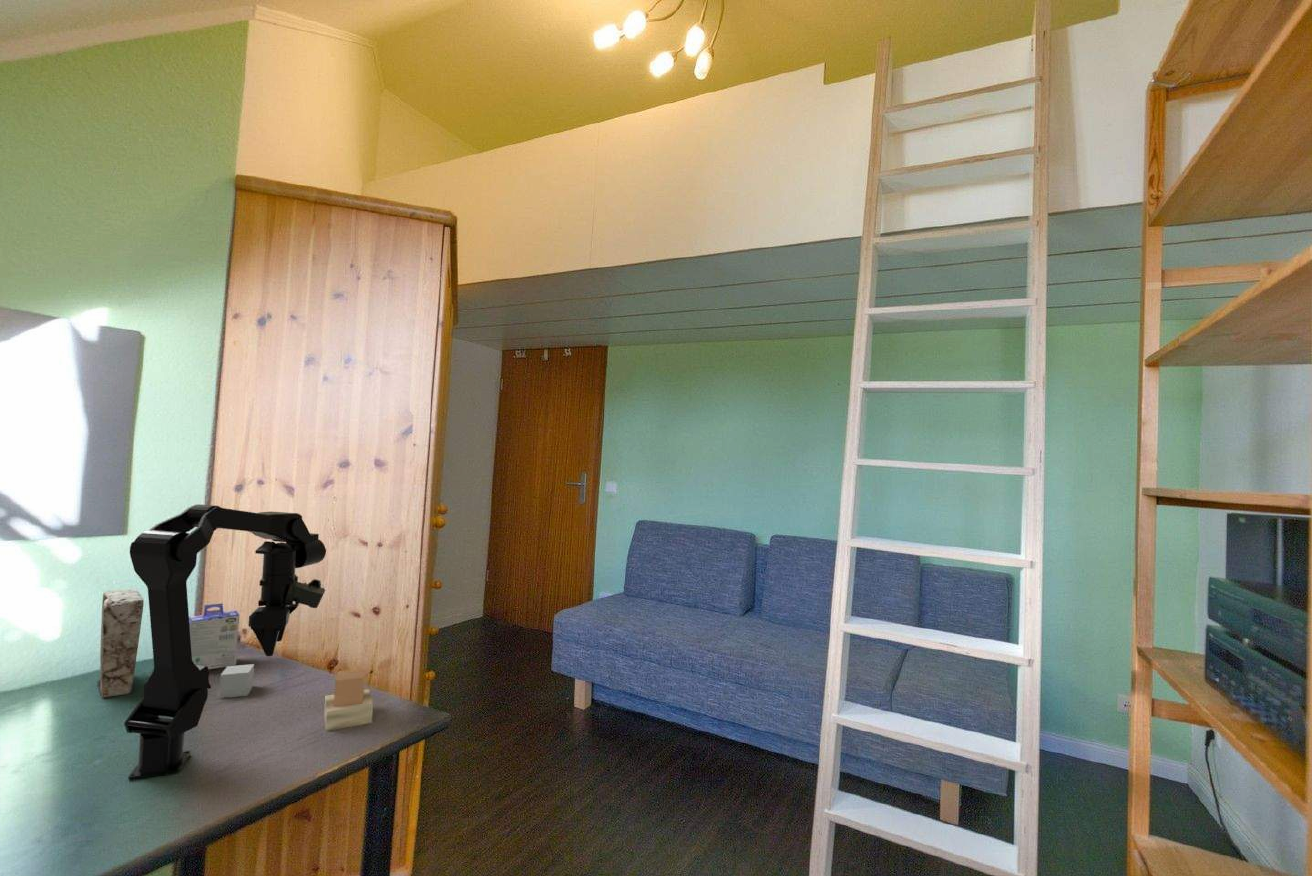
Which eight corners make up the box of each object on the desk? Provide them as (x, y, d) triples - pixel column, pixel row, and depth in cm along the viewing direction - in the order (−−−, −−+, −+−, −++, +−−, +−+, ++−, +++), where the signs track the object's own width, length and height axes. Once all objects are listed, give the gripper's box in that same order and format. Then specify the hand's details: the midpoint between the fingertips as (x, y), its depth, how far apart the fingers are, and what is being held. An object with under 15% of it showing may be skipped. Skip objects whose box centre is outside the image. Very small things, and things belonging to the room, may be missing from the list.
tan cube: (362, 703, 116) (363, 677, 116) (333, 706, 114) (335, 680, 114) (364, 693, 120) (365, 668, 120) (336, 696, 118) (337, 671, 118)
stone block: (143, 691, 124) (149, 597, 124) (98, 701, 118) (105, 603, 119) (129, 674, 132) (135, 586, 133) (86, 683, 127) (93, 591, 127)
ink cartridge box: (234, 658, 144) (238, 600, 144) (237, 665, 140) (241, 605, 140) (183, 667, 137) (187, 606, 138) (185, 675, 133) (189, 611, 134)
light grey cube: (247, 695, 124) (248, 672, 125) (219, 698, 122) (220, 675, 123) (252, 686, 129) (254, 664, 129) (225, 689, 127) (227, 666, 127)
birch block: (371, 724, 115) (372, 704, 115) (325, 733, 111) (326, 711, 111) (367, 708, 122) (368, 689, 122) (324, 715, 118) (325, 695, 118)
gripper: (317, 581, 115) (312, 660, 115) (328, 562, 132) (324, 631, 132) (250, 583, 111) (245, 666, 110) (270, 564, 128) (266, 635, 127)
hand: (274, 648), depth 120 cm, fingers open, 9 cm apart
